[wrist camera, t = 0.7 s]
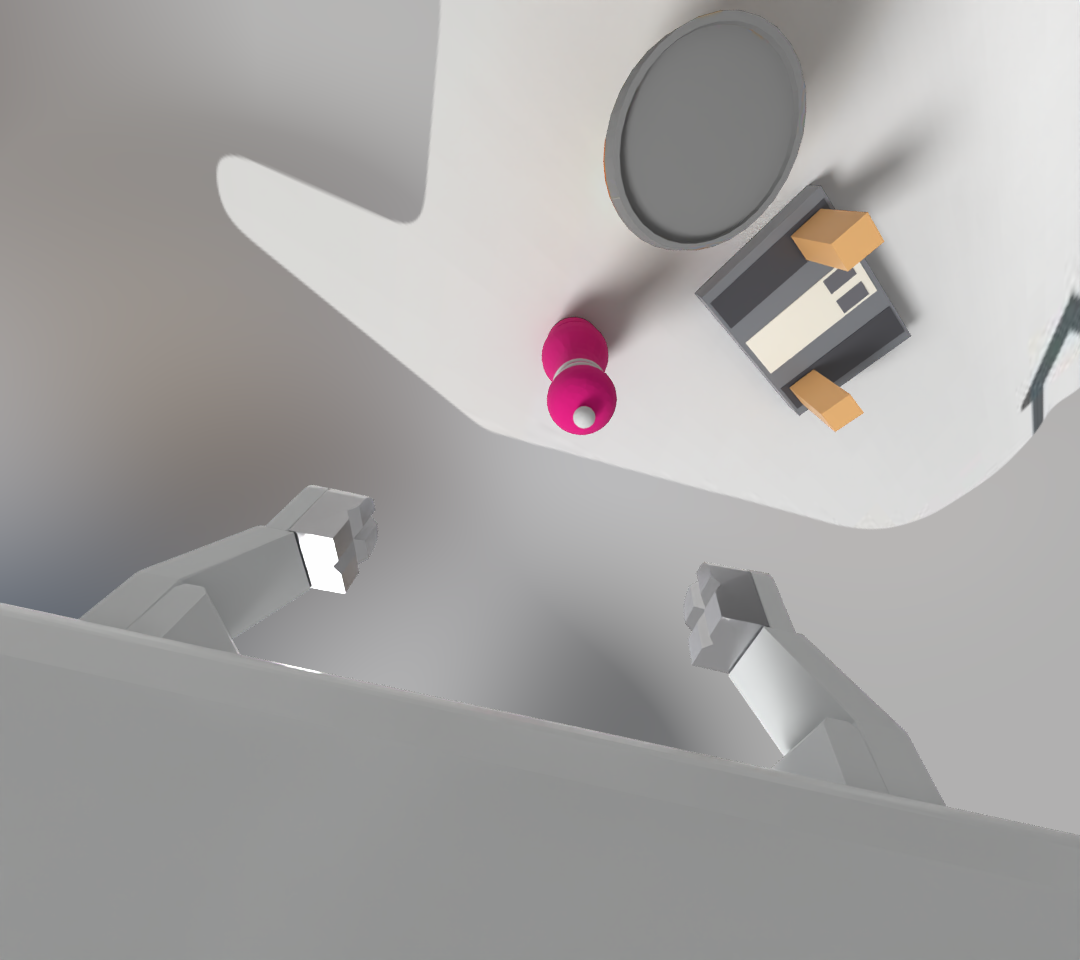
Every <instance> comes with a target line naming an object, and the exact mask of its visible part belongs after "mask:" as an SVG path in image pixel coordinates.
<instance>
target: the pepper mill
mask: <svg viewBox="0 0 1080 960" xmlns="http://www.w3.org/2000/svg"><path fill="white" fill-rule="evenodd" d="M542 362H543V367H544V370H545V372H546V374H547V376H548V377H549V379H550V380H551V381H552V383H551V385H550V387H549V390H548V395H547V406H548V410H549V413H550V416H551V417H552V419H553V421H554V422H555V423H556V424H557V425H558V426H559V427H560V428H561V429H563V430H565V431H567V432H569V433H572V434H577V435H586V434H591V433H594V432H596V431H598V430H600V429H601V428H602V427H604V426H605V425H606V424H607V423H608V422H609V420H610V419H611V417H612V415H613V413H614V411H615V407H616V401H617V397H616V390H615V387H614V385H613V383H612V381H611V379H610V378H609V377H608V375H607V374H606V373H604V372H605V369H606V367H607V363H608V348H607V344H606V341H605V339H604V337H603V336H602V334H601V333H600V332H599V331H598V330H597V329H596V328H595V327H594V326H593V325H592V324H591V323H590V322H588V321H587V320H585V319H582V318H577V317H571V318H566V319H563V320H561V321H560V322H558V323H557V324H556V325H555V326H554V327H553V328H552V329H551V331H550V333H549V335H548V338H547V339H546V341H545V343H544V346H543V349H542Z"/></svg>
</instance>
